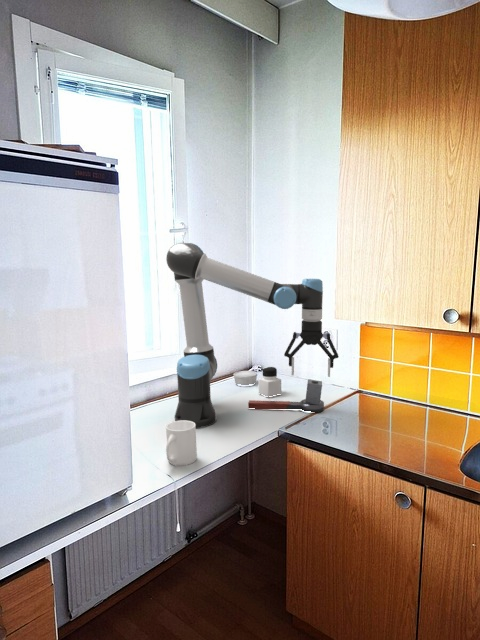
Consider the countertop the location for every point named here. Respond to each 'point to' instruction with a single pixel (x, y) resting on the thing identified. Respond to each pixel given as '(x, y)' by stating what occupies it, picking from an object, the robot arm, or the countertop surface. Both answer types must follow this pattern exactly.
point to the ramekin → (245, 377)
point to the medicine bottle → (269, 382)
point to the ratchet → (287, 405)
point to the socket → (313, 392)
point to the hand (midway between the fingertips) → (310, 375)
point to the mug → (181, 442)
